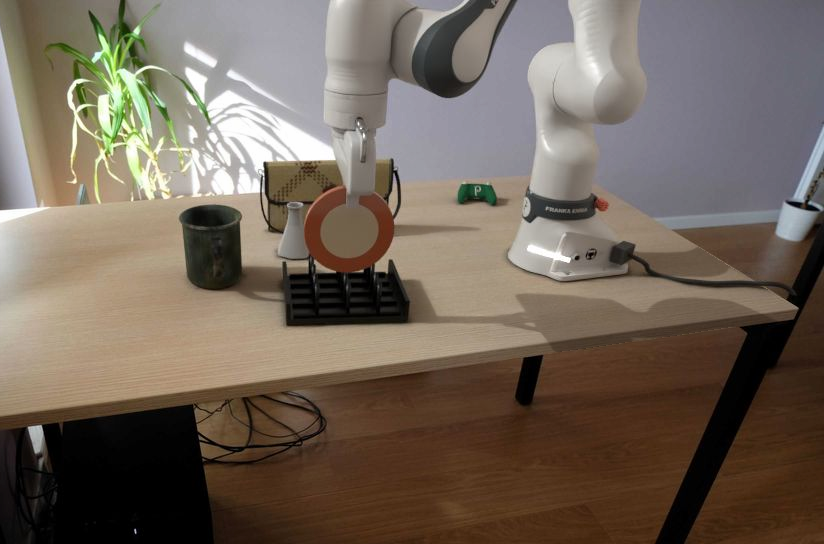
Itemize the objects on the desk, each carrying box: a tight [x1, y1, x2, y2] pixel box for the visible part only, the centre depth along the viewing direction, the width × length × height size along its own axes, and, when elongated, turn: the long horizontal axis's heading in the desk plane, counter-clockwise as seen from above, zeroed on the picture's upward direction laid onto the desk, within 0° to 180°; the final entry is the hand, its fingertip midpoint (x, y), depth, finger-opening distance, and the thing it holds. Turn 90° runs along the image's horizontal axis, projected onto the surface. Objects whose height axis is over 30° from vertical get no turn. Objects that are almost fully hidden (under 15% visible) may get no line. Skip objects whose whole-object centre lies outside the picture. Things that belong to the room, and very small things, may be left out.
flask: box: [277, 202, 309, 260], centre depth 129 cm, size 7×7×10 cm
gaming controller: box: [457, 180, 498, 206], centre depth 158 cm, size 9×4×6 cm
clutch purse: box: [257, 157, 402, 235], centre depth 137 cm, size 30×7×15 cm, turn 99°
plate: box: [304, 185, 395, 272], centre depth 102 cm, size 14×1×14 cm, turn 95°
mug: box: [178, 204, 243, 290], centre depth 117 cm, size 11×15×12 cm
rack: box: [281, 252, 411, 327], centre depth 113 cm, size 20×16×7 cm
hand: (350, 204), depth 100 cm, fingers closed on plate, 1 cm apart
